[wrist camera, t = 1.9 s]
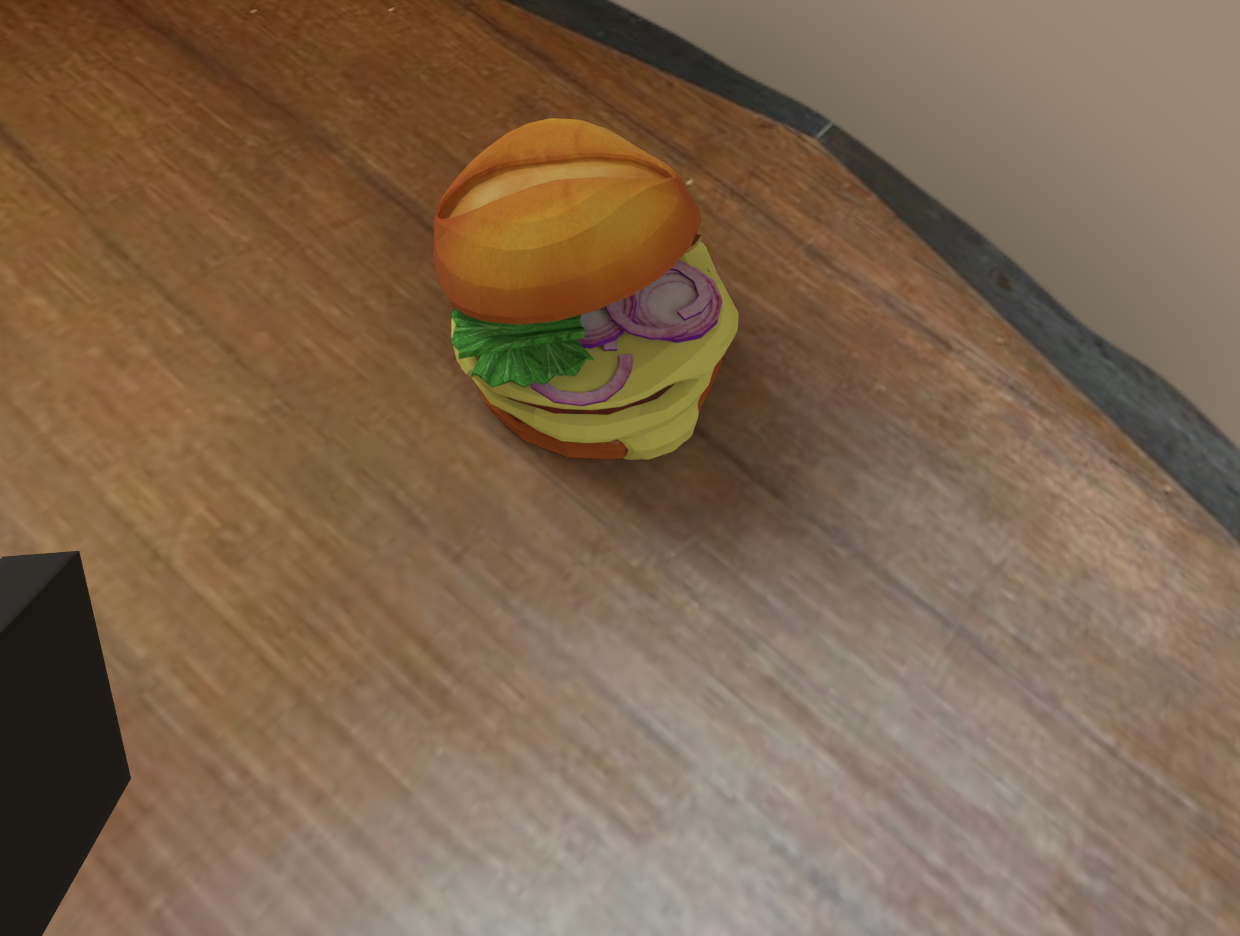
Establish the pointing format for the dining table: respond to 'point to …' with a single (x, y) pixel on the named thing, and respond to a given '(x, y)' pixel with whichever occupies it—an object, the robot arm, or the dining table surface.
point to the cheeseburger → (582, 291)
